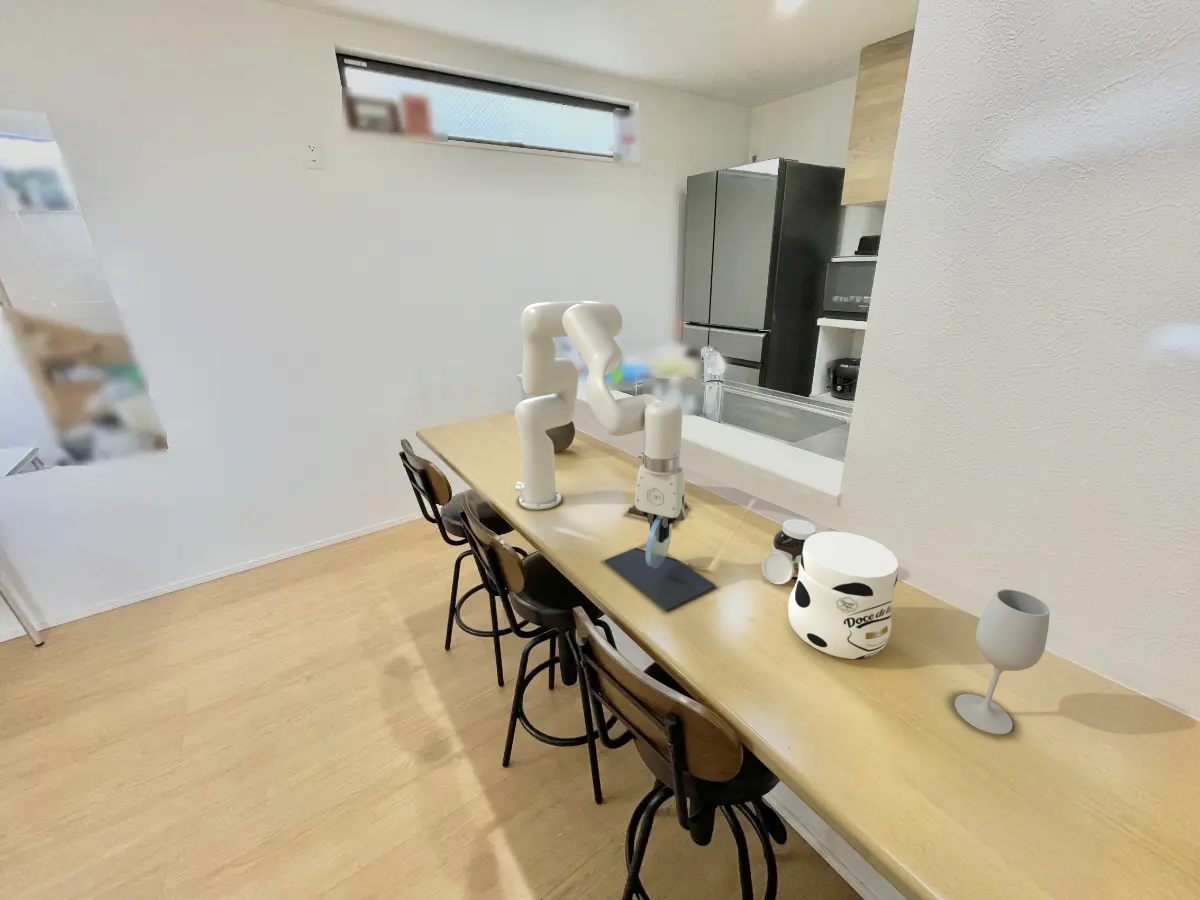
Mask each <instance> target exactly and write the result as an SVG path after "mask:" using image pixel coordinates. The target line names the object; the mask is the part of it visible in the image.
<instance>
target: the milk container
mask: <svg viewBox="0 0 1200 900" xmlns="http://www.w3.org/2000/svg"><path fill="white" fill-rule="evenodd" d="M898 577H899V561H898V558H897V556H895V554H894V553H893V552H892V551H891V549H889V548H887V547H886V546H884V545H883V544H881V543H880V542H877V541H876V540H873V539H871V538H869V537H866V536H863V535H859V534H855V533H852V532H851V533H850V532H844V531H835V530H834V531H832V530H831V531H820V532H817V533H815V534H813V535H811V536H810V537H809V538H807V539H806V540H805V543H804V546H803V549H802V555H801V560H800V563H799V572H798V579H797V580H796V581H795V582H796V583H795V585H794V586H793V588H792V590H791V592H790V594H789V598H788V602H787V610H788V611H787V613H788V621H789V624H790V626H791V628H792V630H793V631H794V633H795V634H796V635H797V636H798V638H799V639H801V641H802V642H804V643H805V644H807V645H808V646H809V647H811V648H813V649H814V650H816V651H818V652H820V653H822V654H825V655H828V656H830V657H833V658H838V659H841V660H842V659H843V660H850V661H857V660H858V661H859V660H867V659H870V658H872V657H874V656H876V655H878V654H880V653H881V652H882V651H883V649H884V648H885V646H886V645H887V643H888V641H889V640H890V636H891V633H892V627H893V621H892V612H891V607H892V602H893V599H894V596H895V595H894V594H895V591H896V587H897V586H896V584H897V582H898Z"/></svg>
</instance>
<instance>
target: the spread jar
mask: <svg viewBox="0 0 1200 900" xmlns="http://www.w3.org/2000/svg"><path fill="white" fill-rule="evenodd" d="M782 523H783V524H782V529H780V530H778V531H777V532H776V534H775V535H774V537H773V540H772V546H771V552H770V553H768V554H766V555H765V556H764V557H763V559H762V561H761V571H762V574H763V576H764V577H765V579H766V580H768V581H769V582H770V583H772V584H775V585H783V584H786V583H788V582H789V581H791V580H793V581H794V580H795V581H797V579H798V572H799V563H800V560H801V555H802V549H803V546H804V543H805V540H806V539H807V538H809V537H810V536H811V535H813V534H817V533H816V532H817V528H816V526H815V525H814V524H813V523H812V522H809V521H807V520H803V519H800V518H790V519H787V520H785V521H784V522H782Z"/></svg>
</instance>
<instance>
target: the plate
mask: <svg viewBox="0 0 1200 900" xmlns="http://www.w3.org/2000/svg"><path fill="white" fill-rule="evenodd" d="M662 519H663V516H660V515H659V516H658V517H657V518H656V519H655V521H654V522H653V524H652V527H651V529H650V528H649V532H648V535H647V539H646V540H647V541H646V545H645V551H646V553H645V554H646V563H647V565H648V566H649V567H651V568H654V569H657V568H658V567H660V565H661V564H662V563H663V561H664V559H665V557H667V554H668V551H669V549H670V545H671V539H672V533H673V532H672V531H673V530H672V529H673V525H672V523H671V524H670V526H669V537H668V538H667V539H665V541H664V542H663V543H660V542H659V531H660V526H661V525H662Z"/></svg>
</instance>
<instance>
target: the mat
mask: <svg viewBox="0 0 1200 900" xmlns="http://www.w3.org/2000/svg"><path fill="white" fill-rule="evenodd" d="M645 553H646V549H641V548H639V547H635V548H632V549H629V550H627V551H624V552H621V553H619V554H617V555H614V556H611V557H608V558H606V559H605V560H604V563H605V564H607V565H608V566H609V567H610V568H612V569H613V570H614V571H616V572H617V573H618V574H619V575H620V576H622V577H623V578H625V579H626V580H627V582H629V583H631V584H632V586H634V587H635V588H637V589H638V590H639V591H641V592H642V593H643V594H644V595H645V596H646V597H648V598H649V599H651V600H652V601H653V602H654V603H655V604H657V605H658V606H659V607H661V608H662V609H663V610H664V611H665V612H669V611H671V610H673V609H675V608H677V607H679V606H681V605H683V604H685V603H687V602H689V601H691V600H693V599H695V598H697V597H699V596H701V595H703V594H705V593H707V592H709V591H711V590H713V589H715V588H716V584H714V583H713V582H711V581H709V580H708V579H707V578H705V577H704V576H702V575H700V574H699V573H697V572H696V571H695V570H693V569H692V568H690V567H689V566H687V565H685V564H684V563H683V562H681V561H680V560H678V559H676V558H674V557H669V556H666V557H665V559H664V561H663V563H662V564H661V565H660V567H658V568H657V569H654V568H651V567H649V566H648V565H647V563H646V554H645Z"/></svg>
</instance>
